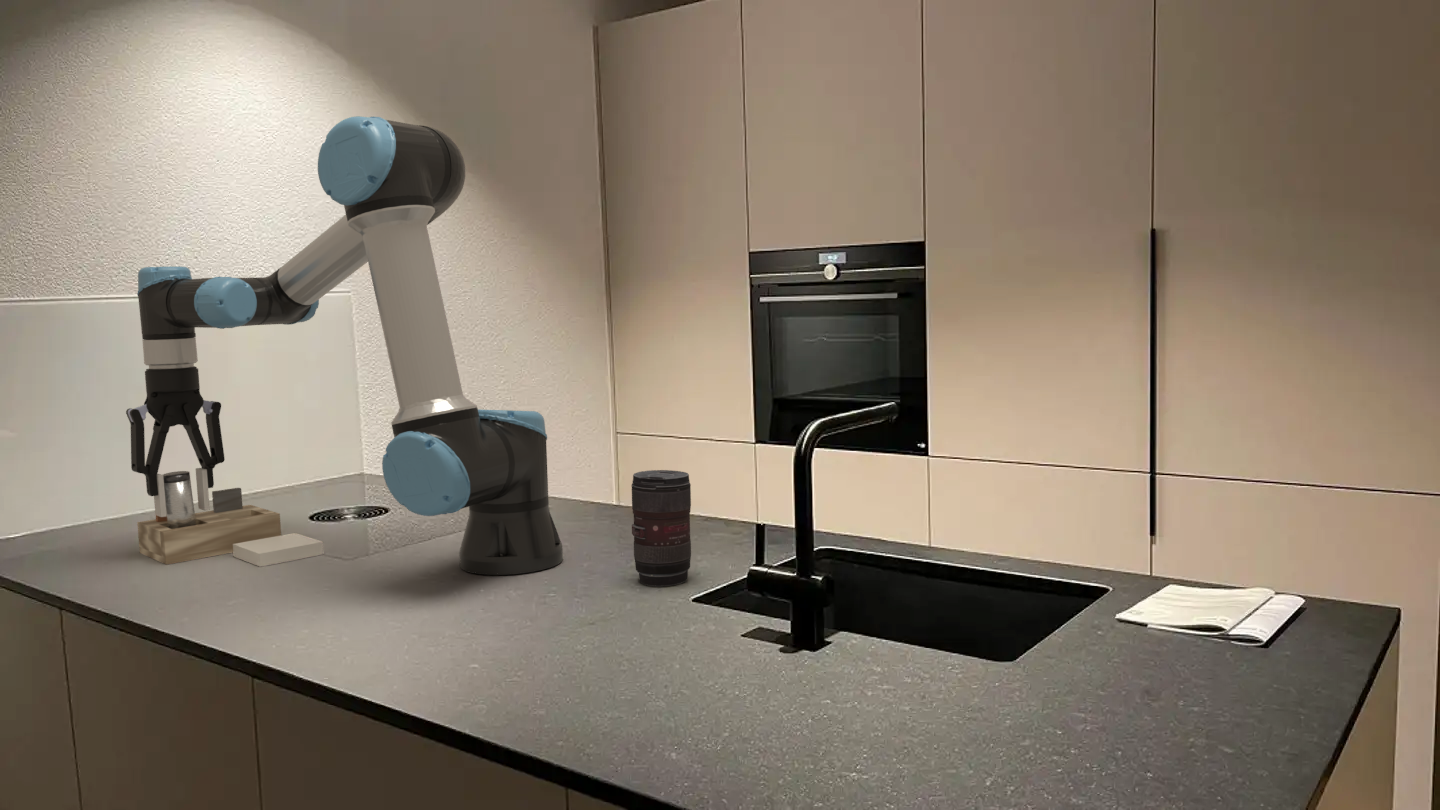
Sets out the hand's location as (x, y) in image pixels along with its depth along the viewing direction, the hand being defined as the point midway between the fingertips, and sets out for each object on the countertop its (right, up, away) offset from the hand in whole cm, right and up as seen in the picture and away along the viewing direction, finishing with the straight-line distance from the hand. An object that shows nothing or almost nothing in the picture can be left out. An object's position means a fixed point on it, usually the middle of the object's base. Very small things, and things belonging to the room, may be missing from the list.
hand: (182, 512), depth 177 cm
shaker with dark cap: (0, -6, +1) cm, 6 cm away
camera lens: (+77, -7, -22) cm, 81 cm away
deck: (+16, -7, -1) cm, 17 cm away
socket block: (+2, -6, +5) cm, 8 cm away
